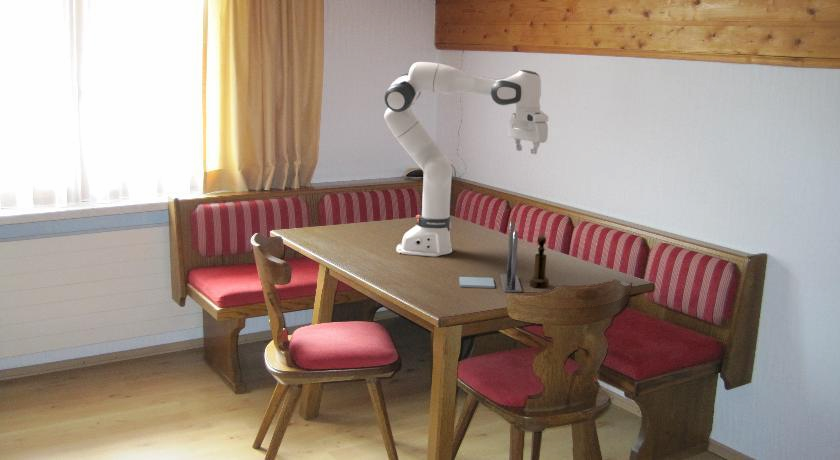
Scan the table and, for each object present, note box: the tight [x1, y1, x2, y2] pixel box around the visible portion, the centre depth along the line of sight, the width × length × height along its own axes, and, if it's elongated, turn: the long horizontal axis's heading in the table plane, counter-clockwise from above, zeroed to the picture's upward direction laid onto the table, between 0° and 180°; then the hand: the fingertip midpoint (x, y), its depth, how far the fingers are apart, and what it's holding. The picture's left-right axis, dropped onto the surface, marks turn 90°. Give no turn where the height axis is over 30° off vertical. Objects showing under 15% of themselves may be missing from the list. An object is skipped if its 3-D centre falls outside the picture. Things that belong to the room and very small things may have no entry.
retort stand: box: [499, 221, 523, 294], centre depth 301 cm, size 6×19×21 cm, turn 179°
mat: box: [458, 276, 496, 289], centre depth 303 cm, size 12×10×1 cm
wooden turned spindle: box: [529, 235, 550, 289], centre depth 301 cm, size 7×6×18 cm
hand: (526, 152), depth 321 cm, fingers open, 8 cm apart
